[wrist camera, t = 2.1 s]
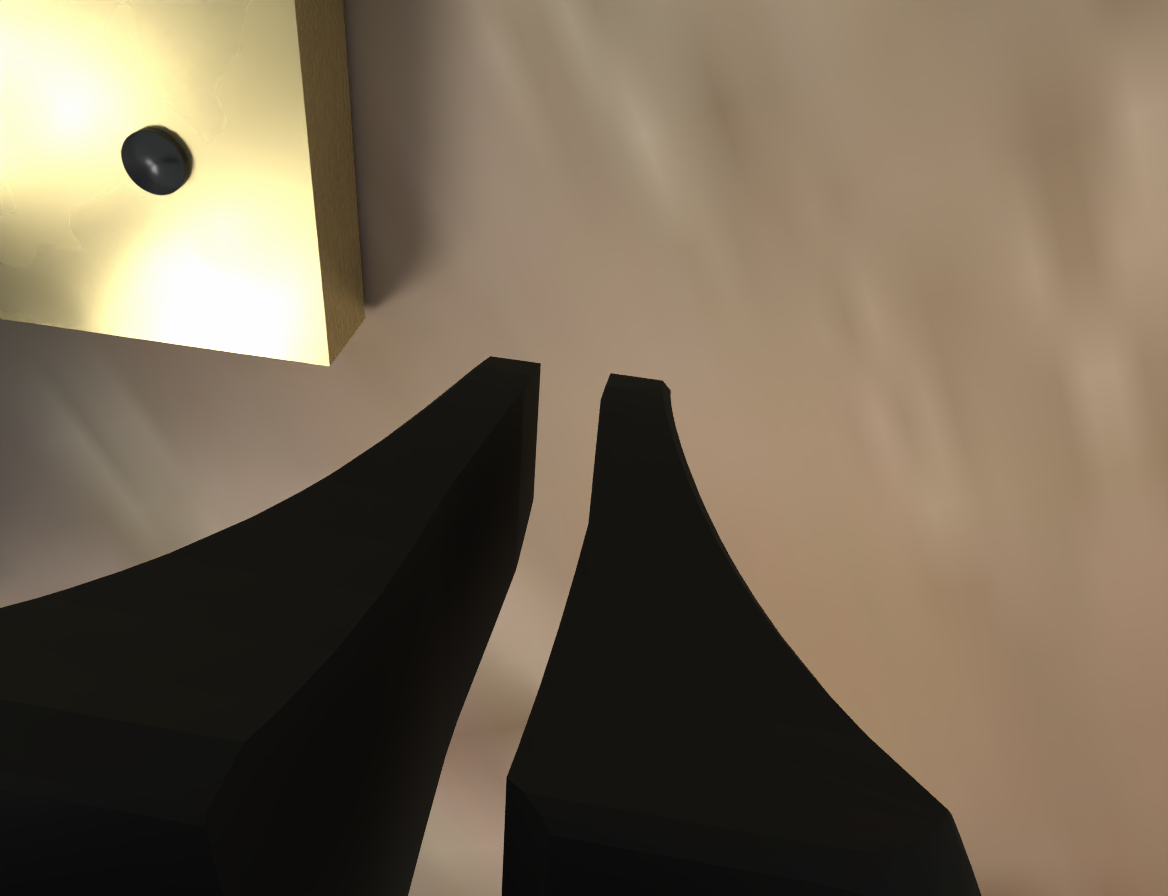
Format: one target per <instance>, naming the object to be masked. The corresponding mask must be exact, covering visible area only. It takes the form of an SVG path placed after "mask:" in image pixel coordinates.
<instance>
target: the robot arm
mask: <svg viewBox="0 0 1168 896" xmlns="http://www.w3.org/2000/svg"><path fill="white" fill-rule="evenodd" d="M540 366H541V363H534V362H527V361H520V360H512V359H505V358H498V357H491V356H490V357H489V358H487V359H486V360H485V361H483V362H482V363H481V364H479V365H478V366H477V367H475V368H474V369H473V370H471V371H470V372H469V373H468V374H467V375H465V376H464V377H463V378H462V379H460V380H459V381H458V382H457V383H455V384H454V385H453V386H452V387H451V388H449V389H448V390H447V391H446V392H444V393H443V394H442V395H441V396H439V397H438V398H437V399H436V400H434V401H433V402H432V403H431V404H429V405H428V406H427V407H426V408H424V409H423V410H422V411H420V412H419V413H418V414H416V415H415V416H414V417H412V418H411V419H410V420H408V421H407V422H406V423H404V424H403V425H402V426H400V427H399V428H398V429H397V430H395V431H394V432H393V433H391V434H390V435H389V436H387V437H386V438H384V439H383V440H382V441H380V442H379V443H377V444H376V445H374V446H373V447H371V448H370V449H368V450H367V451H365V452H364V453H362V454H361V455H359V456H358V457H356V458H355V459H353V460H352V461H350V462H349V463H347V464H346V465H344V466H343V467H341V468H340V469H338V470H337V471H335V472H334V473H332V474H330V475H329V476H327V477H325V478H324V479H322V480H320V481H319V482H317V483H315V484H313V485H312V486H310V487H308V488H306V489H305V490H303V491H301V492H299V493H297V494H296V495H294V496H292V497H290V498H288V499H286V500H284V501H282V502H280V503H278V504H277V505H275V506H273V507H271V508H269V509H267V510H265V511H263V512H261V513H259V514H257V515H255V516H253V517H251V518H249V519H247V520H245V521H242V522H240V523H238V524H236V525H233V526H231V527H229V528H226V529H224V530H222V531H219V532H217V533H215V534H213V535H210V536H208V537H206V538H203V539H201V540H199V541H197V542H194V543H192V544H190V545H187V546H185V547H183V548H180V549H178V550H176V551H174V552H171V553H169V554H166V555H164V556H161V557H158V558H156V559H153V560H150V561H148V562H145V563H142V564H139V565H137V566H134V567H131V568H128V569H126V570H123V571H120V572H117V573H115V574H112V575H109V576H105V577H102V578H99V579H96V580H93V581H90V582H87V583H84V584H81V585H78V586H75V587H72V588H69V589H66V590H63V591H59V592H56V593H53V594H50V595H46V596H43V597H40V598H36V599H33V600H29V601H25V602H21V603H18V604H14V605H10V606H6V607H3V608H0V896H408V893H409V889H410V886H411V882H412V878H413V874H414V870H415V867H416V863H417V859H418V855H419V851H420V848H421V844H422V840H423V836H424V832H425V829H426V825H427V821H428V818H429V814H430V811H431V807H432V803H433V800H434V796H435V792H436V789H437V785H438V781H439V778H440V774H441V771H442V767H443V763H444V760H445V756H446V753H447V750H448V747H449V744H450V741H451V738H452V735H453V732H454V729H455V726H456V723H457V720H458V718H459V715H460V712H461V710H462V707H463V705H464V702H465V700H466V697H467V695H468V692H469V689H470V687H471V684H472V682H473V679H474V677H475V674H476V672H477V669H478V666H479V664H480V661H481V659H482V656H483V654H484V651H485V649H486V646H487V643H488V641H489V638H490V636H491V633H492V631H493V628H494V626H495V623H496V620H497V618H498V615H499V613H500V610H501V607H502V605H503V602H504V600H505V597H506V594H507V592H508V589H509V587H510V584H511V581H512V579H513V576H514V573H515V571H516V568H517V564H518V560H519V556H520V552H521V548H522V544H523V540H524V536H525V532H526V528H527V524H528V520H529V516H530V512H531V507H532V503H533V496H534V478H535V459H536V441H537V422H538V403H539V385H540ZM670 393H671V391H670V389H669V388H668V387H667V386H666V384H665V383H664V382H663V381H661V380H654V379H647V378H640V377H633V376H626V375H619V374H612V373H611V374H610V376H609V379H608V381H607V384H606V386H605V389H604V392H603V395H602V398H601V403H600V413H599V423H598V433H597V443H596V453H595V463H594V473H593V483H592V494H591V504H590V514H589V524H588V528H587V531H586V535H585V539H584V542H583V546H582V549H581V553H580V557H579V560H578V564H577V568H576V571H575V575H574V578H573V582H572V585H571V588H570V592H569V595H568V599H567V602H566V605H565V609H564V612H563V616H562V619H561V622H560V626H559V629H558V632H557V635H556V638H555V641H554V644H553V648H552V651H551V654H550V657H549V660H548V663H547V666H546V669H545V672H544V676H543V679H542V682H541V685H540V688H539V691H538V693H537V696H536V699H535V702H534V705H533V707H532V710H531V713H530V716H529V719H528V721H527V724H526V727H525V730H524V733H523V735H522V738H521V741H520V744H519V747H518V749H517V752H516V755H515V757H514V760H513V762H512V765H511V768H510V770H509V773H508V775H507V782H506V806H505V830H504V854H503V878H502V896H981V893H980V890H979V887H978V884H977V881H976V878H975V875H974V872H973V870H972V867H971V864H970V861H969V859H968V856H967V853H966V851H965V848H964V845H963V842H962V840H961V837H960V834H959V832H958V829H957V827H956V824H955V822H954V819H953V817H952V815H951V813H950V812H949V810H948V809H946V808H945V807H944V806H943V805H942V804H941V803H940V802H939V801H938V800H937V799H936V798H935V797H933V796H932V795H931V794H930V793H929V792H928V791H927V790H926V789H925V788H924V787H923V786H921V785H920V784H919V783H918V782H917V781H916V780H915V779H914V778H913V777H912V776H911V775H909V774H908V773H907V772H906V771H905V770H904V769H903V768H902V767H901V766H900V765H899V764H897V763H896V762H895V761H894V760H893V759H892V758H891V757H890V756H889V755H888V754H887V753H886V752H884V751H883V750H882V749H881V748H880V747H879V746H878V745H877V744H876V743H875V742H874V741H872V740H871V739H870V738H869V737H868V736H867V735H866V734H865V733H864V732H863V731H862V730H861V729H860V728H859V727H858V725H857V724H856V723H855V722H854V721H853V720H852V719H851V718H850V717H849V716H848V715H847V714H846V713H845V712H844V711H843V709H842V708H841V707H840V706H839V705H838V704H837V703H836V702H835V701H834V700H833V699H832V698H831V697H830V695H829V694H828V693H827V692H826V691H825V689H824V688H823V687H822V686H821V684H820V683H819V682H818V681H817V679H816V678H815V677H814V676H813V675H812V673H811V672H810V671H809V670H808V668H807V667H806V666H805V665H804V663H803V662H802V661H801V660H800V658H799V657H798V656H797V655H796V654H795V652H794V651H793V650H792V649H791V647H790V646H789V645H788V644H787V642H786V641H785V640H784V639H783V637H782V636H781V635H780V633H779V632H778V631H777V629H776V628H775V626H774V625H773V623H772V622H771V621H770V619H769V618H768V616H767V615H766V613H765V612H764V610H763V609H762V607H761V606H760V605H759V603H758V602H757V600H756V599H755V597H754V596H753V594H752V592H751V591H750V589H749V588H748V586H747V584H746V583H745V581H744V580H743V578H742V576H741V575H740V573H739V571H738V570H737V568H736V566H735V565H734V563H733V561H732V559H731V558H730V556H729V554H728V552H727V550H726V548H725V547H724V545H723V543H722V541H721V539H720V537H719V535H718V533H717V531H716V529H715V527H714V525H713V523H712V521H711V519H710V517H709V515H708V513H707V510H706V508H705V506H704V504H703V501H702V499H701V497H700V495H699V492H698V490H697V487H696V485H695V482H694V479H693V477H692V474H691V472H690V469H689V467H688V464H687V461H686V459H685V456H684V453H683V450H682V447H681V444H680V440H679V437H678V433H677V430H676V426H675V422H674V417H673V412H672V407H671V398H670Z"/></svg>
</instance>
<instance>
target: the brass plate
mask: <svg viewBox="0 0 1168 896" xmlns="http://www.w3.org/2000/svg"><path fill="white" fill-rule="evenodd" d="M0 319H5V320H12V321H19V322H26V323H33V324H40V325H47V326H54V327H61V328H68V329H74V330H81V331H88V332H95V333H102V334H109V335H116V336H123V337H130V338H137V339H144V340H151V341H158V342H165V343H172V344H179V345H186V346H193V347H199V348H206V349H213V350H220V351H227V352H234V353H241V354H248V355H255V356H262V357H269V358H276V359H283V360H290V361H297V362H304V363H311V364H318V365H325V366H330V365H331V364H332V363H333V361H334V360H335V359H336V357H337V356H338V354H339V353H340V352H341V350H342V349H343V348H344V346H345V345H346V344H347V342H348V341H349V340H350V338H351V337H352V335H353V334H354V333H355V331H356V330H357V329H358V327H359V326H360V325H361V323H362V322H363V321H364V319H365V310H364V295H363V281H362V266H361V252H360V237H359V223H358V209H357V194H356V180H355V165H354V151H353V136H352V122H351V108H350V93H349V79H348V64H347V50H346V35H345V21H344V7H343V0H0Z"/></svg>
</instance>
